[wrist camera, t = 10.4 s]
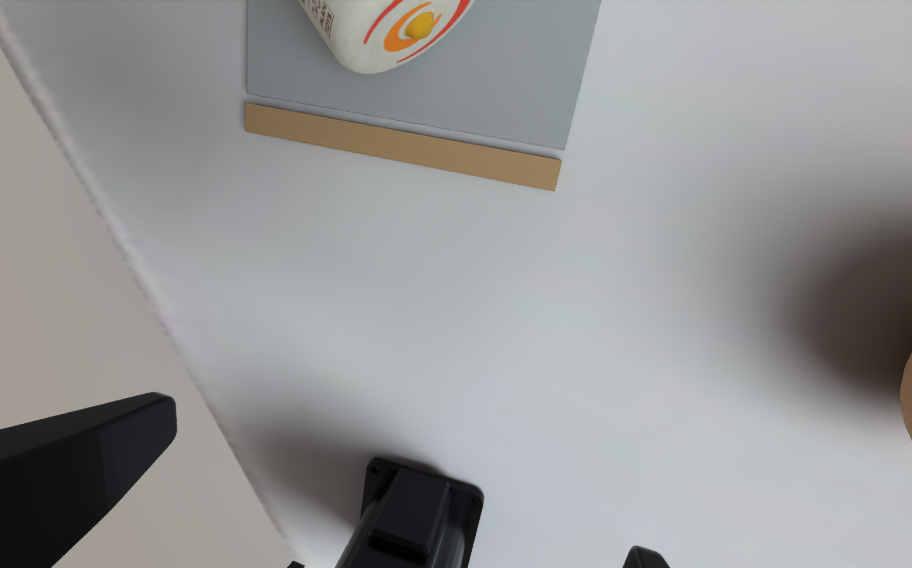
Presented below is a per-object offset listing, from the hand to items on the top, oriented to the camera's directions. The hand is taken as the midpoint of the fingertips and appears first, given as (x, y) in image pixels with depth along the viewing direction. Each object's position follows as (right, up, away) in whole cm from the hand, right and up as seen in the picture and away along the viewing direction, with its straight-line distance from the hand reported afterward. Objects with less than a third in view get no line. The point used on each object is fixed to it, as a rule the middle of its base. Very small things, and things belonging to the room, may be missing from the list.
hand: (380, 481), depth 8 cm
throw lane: (0, +15, +8) cm, 17 cm away
